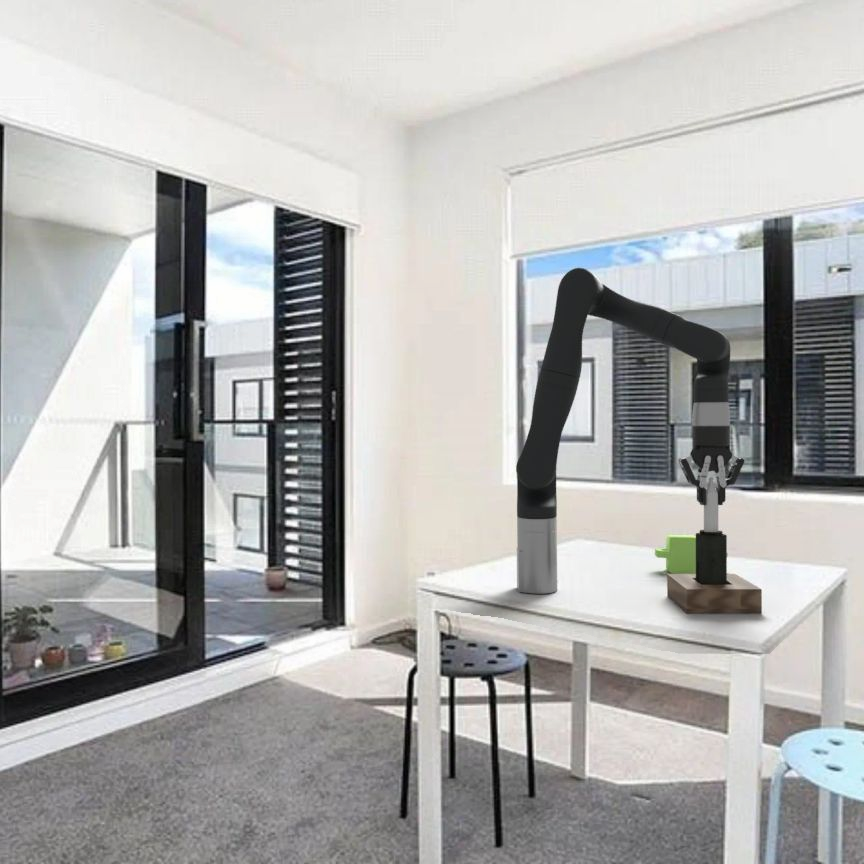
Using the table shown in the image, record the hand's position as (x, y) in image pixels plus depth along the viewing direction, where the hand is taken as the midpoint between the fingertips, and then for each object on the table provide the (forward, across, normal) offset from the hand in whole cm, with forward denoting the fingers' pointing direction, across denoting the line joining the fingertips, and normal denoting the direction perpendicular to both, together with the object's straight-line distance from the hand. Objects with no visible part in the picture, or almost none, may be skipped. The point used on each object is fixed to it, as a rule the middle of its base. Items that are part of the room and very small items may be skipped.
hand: (711, 504), depth 159 cm
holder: (+22, 0, 0) cm, 22 cm away
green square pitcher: (+22, +6, +34) cm, 41 cm away
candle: (+19, 0, 0) cm, 19 cm away
